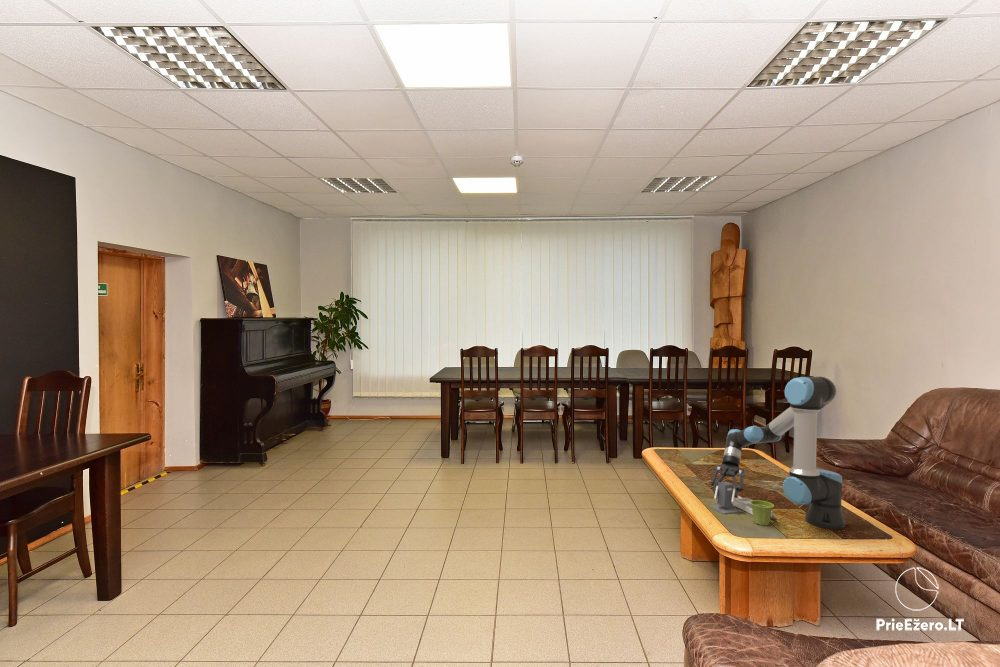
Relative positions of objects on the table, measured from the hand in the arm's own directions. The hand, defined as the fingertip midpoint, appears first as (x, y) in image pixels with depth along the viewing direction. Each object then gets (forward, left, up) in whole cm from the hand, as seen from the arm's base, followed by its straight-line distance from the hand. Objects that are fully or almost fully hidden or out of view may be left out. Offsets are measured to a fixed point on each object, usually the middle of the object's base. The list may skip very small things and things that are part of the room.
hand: (723, 501), depth 250 cm
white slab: (-2, -15, -5) cm, 16 cm away
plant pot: (-16, -7, -5) cm, 18 cm away
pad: (+2, -3, -5) cm, 6 cm away
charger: (+2, -3, -3) cm, 4 cm away
